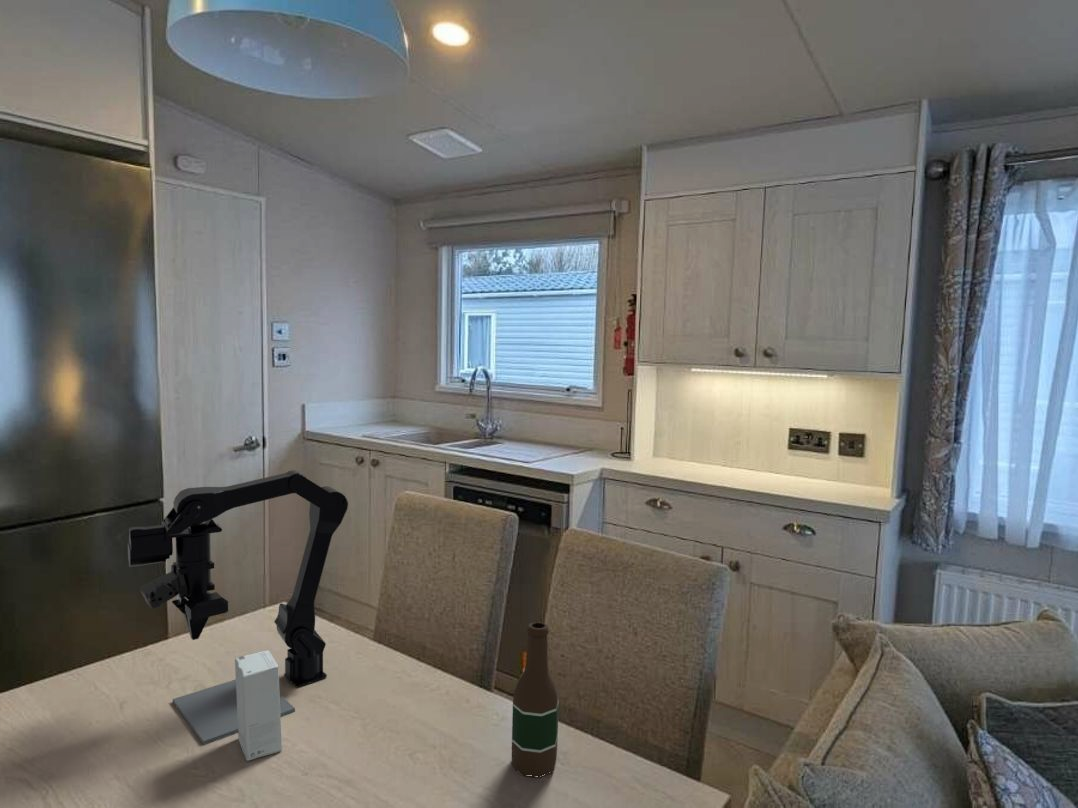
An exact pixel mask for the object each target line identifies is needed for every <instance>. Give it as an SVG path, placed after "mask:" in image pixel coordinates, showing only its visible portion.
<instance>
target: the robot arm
mask: <svg viewBox="0 0 1078 808" xmlns="http://www.w3.org/2000/svg"><path fill="white" fill-rule="evenodd" d="M291 494H296V495H298V496H299V497H301V498H303V499H305V500H306V501H308V502H309V533H308V536H307V541H306V545H305V548H304V550H303V551H304V552H303V555H302V560H301V563H300V567H299V569H298V574H297V578H296V582H295V585H294V588H293V589H294V590H293V592H292V596H291V598H290V599H289V601H288V602H287V603H286V604H284V603H281V602H280V603H279V604H278V612H277V616H276V618H275V619H274V620H273V622H274V624H275V626H276V631H277V633H278V635H279V636H280V638H281V639H282V640H283V642H284V643H285V645H286V646H287V647H288V649H286V650H287V654H286V655H287V657H285V658H284V674H283V676H284V678H286V679H287V680H288V681H289V682H290V683H291V684H292V685H294V686H295V687H296V688H300V687H303V686H306V685H309V684H312V683H314V682H317V681H320V680H323V679H326V678H327V674H326V673H325V672H324V650H325V648H326V644H327V643H326V641H324V639H323V638H322V637H321V635H320V634H319V633H318V632H317V631H316V629H315V628H316V610H315V603H316V602H315V601H316V597H317V593H318V591H319V590H318V589H319V586H320V583H321V579H322V575H323V571H324V567H325V563H326V559H327V556H328V553H329V548H330V546H331V541H332V537H333V535H334V534H335V532H336V531H337V530H338V528H339V527H340V526H341V524H342V522H343V520H344V518H345V515H346V513H347V511H348V507H349V501H348V499H347V497H346V495H344V494H343V493H342V492H340V491H338V490H337V489H335V488H333V487H331V486H326V485H325V486H320V485H319V484H317V483H315V482H313V481H311V479H309V478H308V477H306V476H305V475H304V474H303V473H301V472H300V471H298V470H289V471H286V472H284V473H280V474H276V475H270V476H266V477H261V478H259V479H258V478H257V479H253V480H249V481H245V482H240V483H237V484H233V485H227V486H199V487H188V488H185V489H182V490H180V491H179V492H178V493H177V494H176V496H175V497H174V500H173V502H172V503H173V507H172V508H171V510H169V512H168V514H167V515H166V516H165V517H164V519H163V520H162V521H161V524H158V525H150V526H149V525H148V526H131V527H129V530H128V531H129V535H128V542H127V556H128V557H127V558H128V566H129V568H131V567H139V566H147V565H153V564H154V565H155V564H160V563H165V562H166V561H167V560H169V559H170V557H171V556H173V554H174V552H173V549H174V548H173V546H174V545H173V539H175V561H174V562H172V564H171V566H170V571H169V572H167V573H165V574H162V575H160V576H158V577H156V578H155V579H152V580H150V581H148V582H147V583H145V584H143V585H142V586H140V587H139V590H140V593H141V595H142V596H143V599H144V600H145V602H146V604H147V605H148V606H149V607H150V609H156V608H160V606H162V605H163V604H165V603H167V602H168V601H170V600H172V599H173V598H175V597H176V599H173V600H172V601H171V603H172V604H173V605H174V606H175V607H176V608H177V609H178V611H180V613H182V615H183V617H184V620H185V623H186V626H187V629H188V633H189V635H190V639H191V640H192V641H194V640H198V639H200V636H201V634H202V632H203V630H204V628H205V626H206V624H207V622H208V620H209V618H211V617H215V616H219V615H223V614H226V613H228V612H229V600H227V599H226V598H225V597H224V596H222V595H221V594H220V593H218V592H216V591H215V592H210V591H214V590H215V587H216V586H215V583H213V582H212V569H215V562H214V561H212V559H211V555H212V554H211V552H212V551H211V550H212V549H211V534H215V533H221V532H222V531H223V528H222V527H221V525H220V524H219V523H216V522H215V520H214V519H215V518H218V517H219V516H221V515H222V514H224V513H226V512H227V511H230V510H232V509H235V508H239V507H243V506H247V505H251V504H255V503H258V502H259V503H261V502H263V501H267V500H272V499H275V498H279V497H284V496H287V495H291Z"/></svg>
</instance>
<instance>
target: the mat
mask: <svg viewBox="0 0 1078 808" xmlns="http://www.w3.org/2000/svg"><path fill="white" fill-rule="evenodd" d="M279 695H280V716H281V717H283V716H286V715H290V714H292V713H294V712H296V708H295V707H294V706H293V705H292V704H291V703H290V702H289V701H288V700H287V699H286V698H285V697H284V696H283V695H282V694H281V693H280V692H279ZM172 703H173V704H174V706H175V708H176V709H177V710H178V712H179V713H180V715H181V716H182V717H183V718H184V720H185V721H186V723H187V724H188V725H189V727H190V729H192V731H193V733H195V735H196V736H197V738H198V739H199V740H200V742H201V744H202V745H207V744H209V743H212V742H214V741H217V740H220V739H223V738H225V737H228V736H232V735H234V734H238V717H237V694H236V678H235V679H233V680H232V679H231V680H230V681H226V682H224V683H219V684H217V685H214V686H210V687H207V688H204V689H200V690H197V691H194V692H191V693H188V694H184V695H181V696H178V697H175V698H173V699H172Z"/></svg>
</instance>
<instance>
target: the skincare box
mask: <svg viewBox="0 0 1078 808" xmlns="http://www.w3.org/2000/svg"><path fill="white" fill-rule="evenodd" d="M234 666H235V667H234V669H235V679H236V694H237V717H238V732H237V735H238V736H237V739H238V741H239V745H240V747H241V750H242V752H243V754H244V758H245V760H246V762H247V761H252V760H254V759H257V758H262V757H265V756H270V755H274V754H276V753H280V752H282V750H283V742H282V725H281V724H282V721H281V719H282V718H281V717H282V716H280V695H279V693H280V678H279V677H280V676H279V665H278V663H277V662H276V660H275V658H274V656H273V655H272V652H270V650H269V649H267V650H263V651H259V652H258V651H257V652H255V653H251V654H246V655H243V656H239V657H235V658H234Z"/></svg>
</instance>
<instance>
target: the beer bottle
mask: <svg viewBox="0 0 1078 808" xmlns="http://www.w3.org/2000/svg"><path fill="white" fill-rule="evenodd" d="M526 633H527V635H528V636H527V644H526V645H527V647H526V656H525V657H526V658H525V665H524V671H523V672H521V675H520V676H519V678H518V681H517V684H516V686H515V689H514V692H513V696H512V697H513V698H512V717H511V718H512V720H511V721H512V725H511V728H512V729H511V766H512V765H513V766H512V767H513V768H514V767H515V768H516V769H517V770H518V771H519V772H520V773H521V774H522V775H532V776H538V777H540V776H542V775H544V774H547V773H549V772H552V771H553V772H554V770H555V767H556V763H557V757H558V738H559V737H558V734H559V733H558V731H559V707H560V706H559V705H560V704H559V700H560V699H559V698H560V696H559V694H560V693H559V692H560V691H559V686H558V684H557V681H556V679H555V677H554V675H553V674H552V673H551V671H550V666H549V665H550V664H549V646H548V645H549V644H548V643H549V642H548V638H549V637H548V635H549V633H550V628H549V625H548V624H546V623H544V622H542V621H535V622H530V623H528V627H527V629H526ZM515 768H514V769H515ZM516 769H515V770H516ZM517 770H516V771H517ZM518 771H517V772H518ZM519 772H518V773H519ZM553 772H552V773H553ZM520 773H519V774H520ZM521 774H520V775H521ZM549 774H550V773H549ZM522 775H521V776H522ZM547 775H548V774H547ZM540 778H541V777H540Z"/></svg>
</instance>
